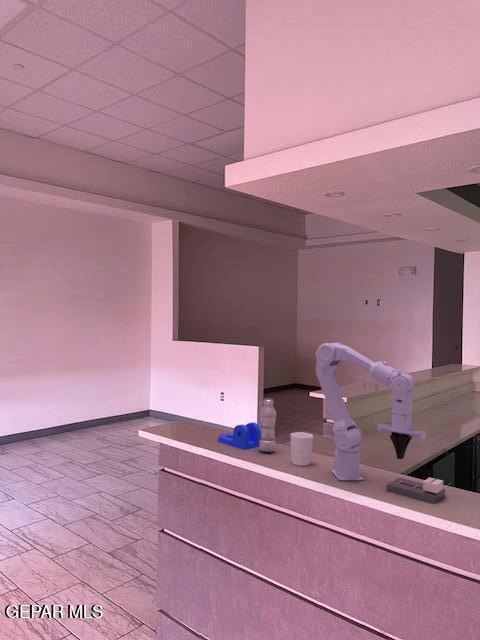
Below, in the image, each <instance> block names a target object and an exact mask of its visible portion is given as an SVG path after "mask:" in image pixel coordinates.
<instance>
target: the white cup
mask: <svg viewBox="0 0 480 640" xmlns="http://www.w3.org/2000/svg"><path fill="white" fill-rule="evenodd" d="M313 441H314V435H313V434H312V433H308V432H304V431H301V432H298V431H297V432H291V433H290V454H291V455H290V456H291V457H290V458H291V461H290V462H291V464H293V465H294V466H300V467H303V466H304V467H305V466H310V465H311V464H312V452H313V443H314V442H313Z"/></svg>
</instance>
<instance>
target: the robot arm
mask: <svg viewBox="0 0 480 640" xmlns="http://www.w3.org/2000/svg"><path fill="white" fill-rule="evenodd" d="M315 357H316V362H315V363H316V364H315V374H316V376H317V379H318V383H319V384H320V388H321V390H322V393H323V396H324V399H325V401H326V404H327V406H328V408H329V412H330V415H331V417H332V420H333V427H332V432H333V442H334V445H335V447H336V449H335V450H334V454H333V455H334V456H333V458H334V459H333V462H334V463H333V469H331V471H330V472H331V473H332V474H333V475H334V476H335V477H336V478H337V480H338V481H364V478H363V477H362V476H361V475H360V455H361V454H360V453H361V452H360V450H361V449H360V445H361V444H362V443H363V441H364V434H363V432H362V430H361V429H360V428H359V427H358V426H357V424H356V421H354V420H353V419H352V418H351V417H350V414H349V412H348V408H347V406H346V403H345V400H344V399H343V395H342V393H341V389H340V387H339V384H338V382H337V380H336V377H335V375H334V371H335V370H336V367H337V366H338V364H339V363H341V362H342V361H348V362H350V363H352V364H354V365H355V366H358V367H359V368H362V369H364V370H365V371H367V372H369V375H370V377H371V378H373V379H374V380H376V381H377V382H379V383H381V384H384V386H387V387H389V388H390V390H391V391H392V402H391V404H392V405H391V406H392V407H391V424H385V423H378V424H377V431H378V432H384V433H385V432H386V433H391V434H390V435H389V438H390V440H391V442H392V444H393V448H394V451H395V456H396V459H398V460H403V459H404V458H405V453H406V451H407V448H408V446H409V444H410V442H411V441H412V439H413V438H418V439H420V440H425V439H427V431H424V430H423V431H422V430H419V429H416V428H412V420H413V419H412V417H413V416H412V415H413V414H412V413H413V390H414V389H415V386H416V382H415V379H414V377H413V376H412V375H411V374H410V373H406V372H403V373H402V370H401V369H396V368H394V367H391V366H390V365H388V364H389V362H386V360H385V361H381V360H380V361H372V360H371V359H369V358H368V357H366V356H364V355H363V354H361V353H359V352H358V351H356V350H355V349H353V348H351V347H350V346H349V345H345V344H343V343H341V342H339V341H336V342H331V343H329V342H328V343H327V342H325V343H324V342H323V343H322V344H320V345H319V347H318V348H317V350H316V352H315Z"/></svg>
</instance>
